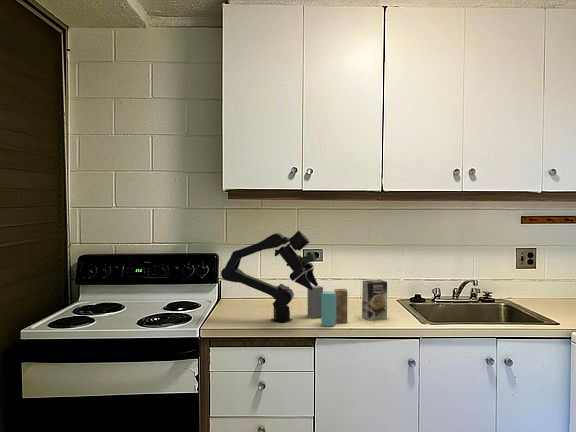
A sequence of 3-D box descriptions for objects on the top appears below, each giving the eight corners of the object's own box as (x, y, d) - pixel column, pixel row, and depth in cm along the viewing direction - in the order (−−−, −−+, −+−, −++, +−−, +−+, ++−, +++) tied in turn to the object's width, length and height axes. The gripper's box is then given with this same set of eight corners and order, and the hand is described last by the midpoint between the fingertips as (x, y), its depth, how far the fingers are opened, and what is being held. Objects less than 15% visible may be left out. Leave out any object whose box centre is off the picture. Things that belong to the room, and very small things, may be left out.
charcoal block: (312, 318, 191) (312, 288, 190) (307, 315, 195) (307, 286, 195) (323, 316, 193) (323, 287, 192) (317, 314, 197) (317, 285, 197)
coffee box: (368, 320, 187) (368, 282, 187) (361, 317, 193) (361, 280, 193) (387, 319, 190) (387, 281, 189) (380, 315, 196) (380, 279, 195)
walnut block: (335, 322, 184) (335, 291, 184) (334, 319, 189) (334, 288, 189) (347, 322, 184) (347, 291, 183) (346, 319, 189) (346, 288, 188)
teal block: (321, 325, 179) (321, 293, 179) (324, 322, 184) (324, 291, 184) (333, 326, 178) (333, 294, 177) (336, 323, 182) (336, 291, 182)
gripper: (299, 247, 175) (324, 278, 172) (310, 244, 193) (333, 272, 190) (279, 265, 177) (303, 296, 175) (291, 260, 195) (314, 288, 193)
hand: (314, 287), depth 183 cm, fingers open, 9 cm apart
